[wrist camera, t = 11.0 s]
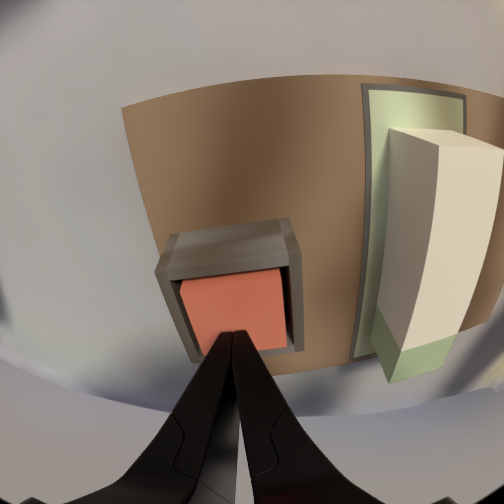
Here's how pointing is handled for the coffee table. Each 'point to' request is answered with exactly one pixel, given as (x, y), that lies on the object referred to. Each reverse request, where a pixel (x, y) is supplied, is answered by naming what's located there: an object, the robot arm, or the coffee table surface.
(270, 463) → the robot arm
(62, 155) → the coffee table surface
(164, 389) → the coffee table surface
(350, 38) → the coffee table surface
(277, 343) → the button
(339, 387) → the coffee table surface
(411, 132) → the block
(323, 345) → the brown control panel
